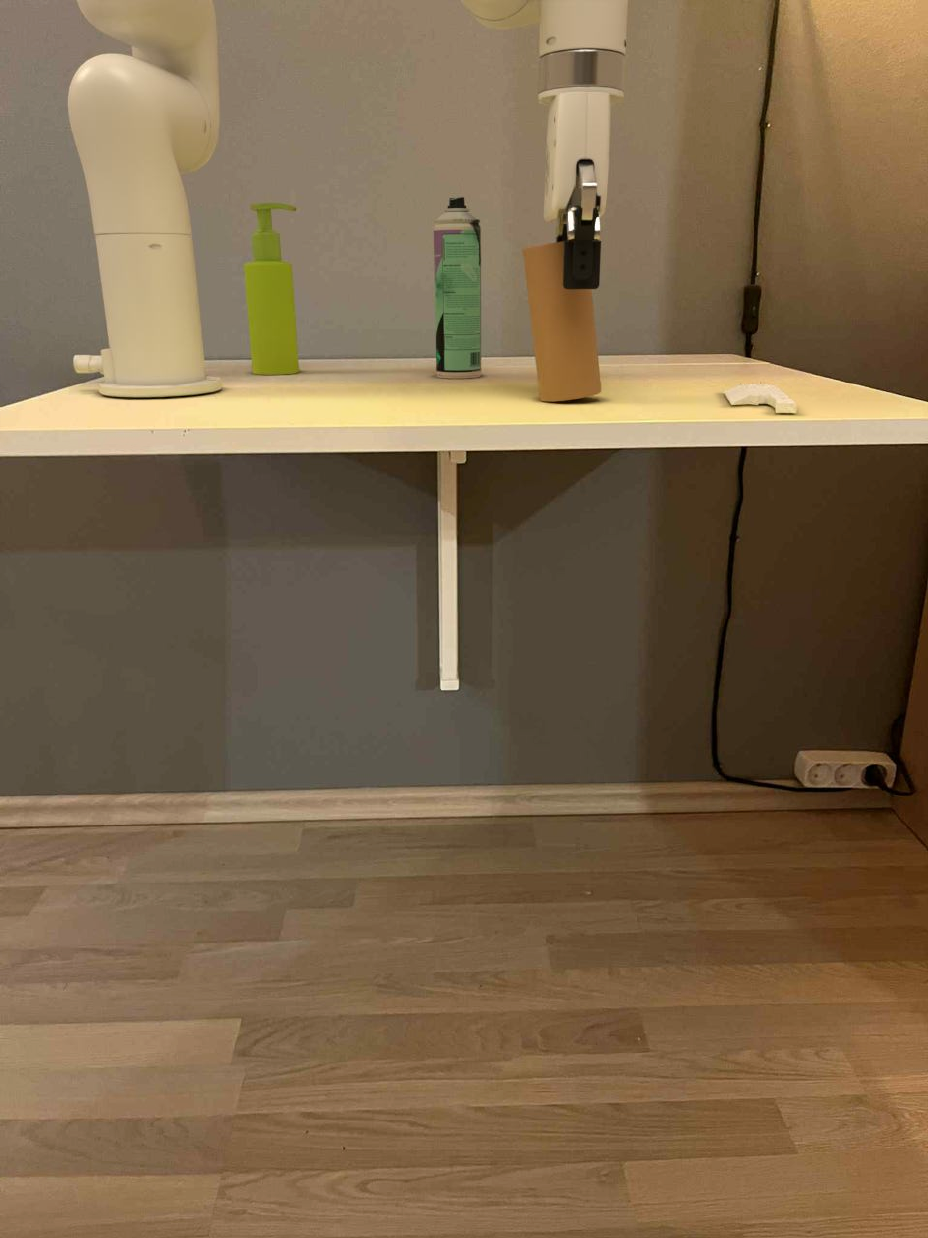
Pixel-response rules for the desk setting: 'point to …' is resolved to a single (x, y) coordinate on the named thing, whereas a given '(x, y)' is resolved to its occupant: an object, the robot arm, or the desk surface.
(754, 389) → the white curved arc piece
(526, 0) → the robot arm
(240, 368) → the desk surface
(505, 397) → the desk surface
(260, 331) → the soap dispenser
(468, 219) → the spray can
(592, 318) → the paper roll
